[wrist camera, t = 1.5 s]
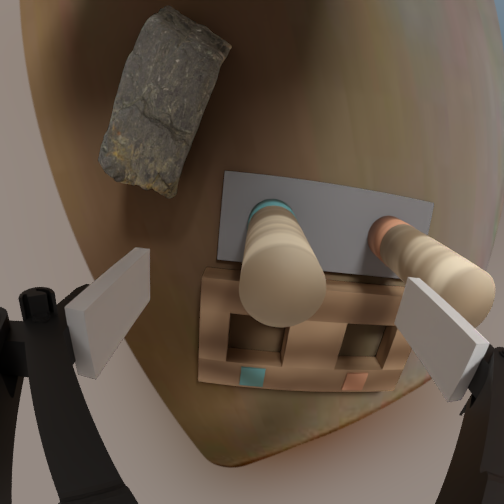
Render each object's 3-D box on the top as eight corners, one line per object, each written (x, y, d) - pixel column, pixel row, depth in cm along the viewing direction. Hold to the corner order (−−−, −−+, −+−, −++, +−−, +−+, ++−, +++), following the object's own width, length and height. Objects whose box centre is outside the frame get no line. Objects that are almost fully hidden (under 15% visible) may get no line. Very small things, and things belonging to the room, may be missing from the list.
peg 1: (251, 196, 27) (242, 241, 14) (298, 201, 27) (335, 252, 14) (246, 241, 28) (233, 323, 15) (291, 246, 28) (317, 331, 15)
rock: (232, 202, 23) (97, 207, 21) (219, 188, 29) (114, 191, 27) (243, -12, 17) (110, -12, 15) (227, 17, 23) (122, 17, 21)
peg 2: (372, 212, 27) (456, 266, 14) (410, 218, 27) (503, 272, 14) (363, 255, 28) (433, 335, 15) (401, 259, 28) (481, 334, 15)
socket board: (206, 266, 29) (201, 277, 27) (419, 288, 30) (430, 299, 27) (201, 366, 33) (197, 382, 31) (387, 377, 33) (394, 391, 31)
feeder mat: (225, 170, 27) (224, 170, 26) (432, 202, 27) (434, 203, 27) (217, 257, 29) (217, 259, 29) (414, 278, 29) (416, 280, 29)
